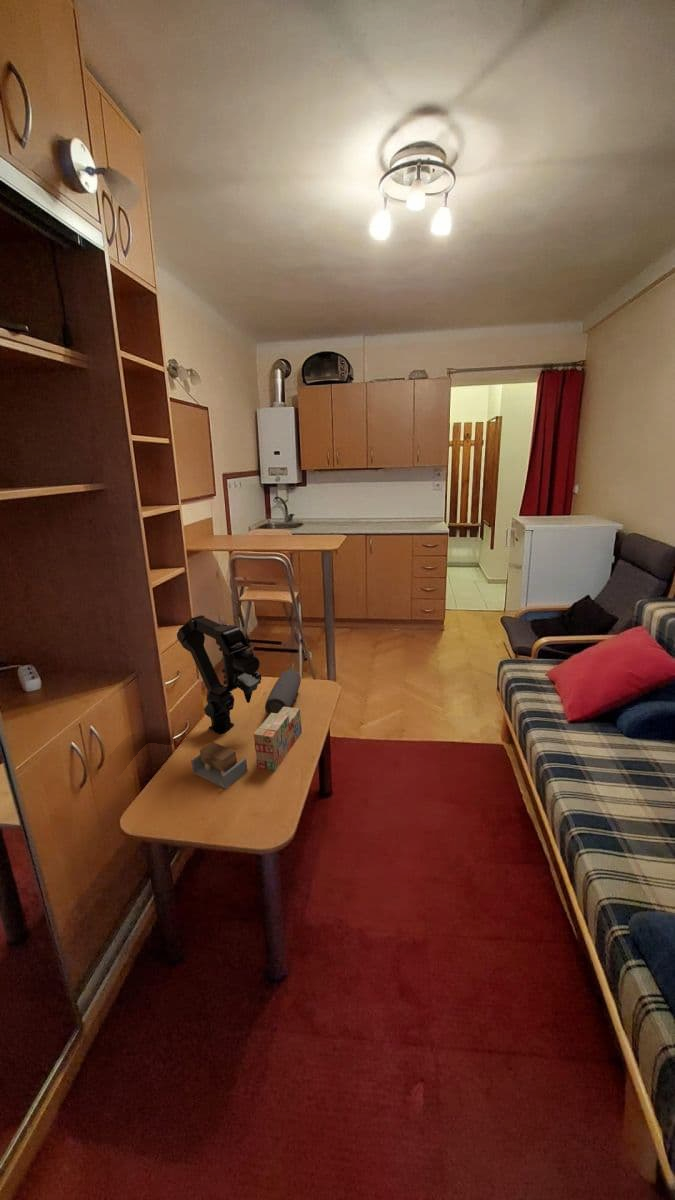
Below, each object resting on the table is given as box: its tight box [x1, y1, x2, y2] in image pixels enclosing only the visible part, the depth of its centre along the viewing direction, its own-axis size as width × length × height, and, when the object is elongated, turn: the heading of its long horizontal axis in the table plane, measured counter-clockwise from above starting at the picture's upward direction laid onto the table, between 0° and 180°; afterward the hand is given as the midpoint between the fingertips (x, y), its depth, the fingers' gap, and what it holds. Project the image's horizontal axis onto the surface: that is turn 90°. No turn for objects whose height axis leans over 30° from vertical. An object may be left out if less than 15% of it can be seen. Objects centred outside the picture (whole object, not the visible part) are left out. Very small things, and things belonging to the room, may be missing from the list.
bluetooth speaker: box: [264, 669, 302, 716], centre depth 176 cm, size 23×9×10 cm, turn 172°
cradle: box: [190, 754, 249, 790], centre depth 140 cm, size 14×9×4 cm, turn 57°
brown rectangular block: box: [199, 741, 238, 772], centre depth 139 cm, size 10×5×4 cm, turn 57°
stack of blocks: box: [253, 707, 303, 772], centre depth 149 cm, size 21×6×12 cm, turn 162°
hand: (238, 708), depth 153 cm, fingers open, 9 cm apart
